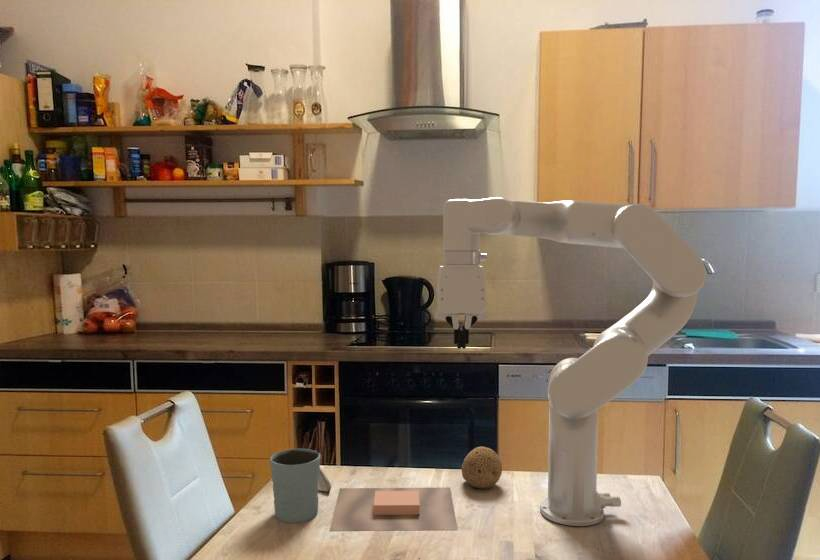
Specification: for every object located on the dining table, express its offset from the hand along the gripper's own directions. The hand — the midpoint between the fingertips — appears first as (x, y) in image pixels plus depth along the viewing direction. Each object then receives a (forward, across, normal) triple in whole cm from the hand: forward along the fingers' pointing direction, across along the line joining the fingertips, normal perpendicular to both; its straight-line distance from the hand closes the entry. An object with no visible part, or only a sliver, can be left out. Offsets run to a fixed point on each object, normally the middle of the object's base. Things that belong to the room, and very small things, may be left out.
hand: (461, 347), depth 133 cm
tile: (+31, +9, +6) cm, 32 cm away
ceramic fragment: (+34, +31, -10) cm, 47 cm away
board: (+33, +14, +6) cm, 36 cm away
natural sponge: (+33, -5, -5) cm, 34 cm away
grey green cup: (+33, +34, +5) cm, 48 cm away
